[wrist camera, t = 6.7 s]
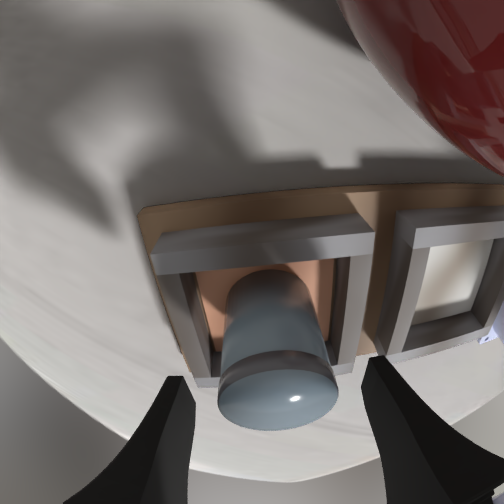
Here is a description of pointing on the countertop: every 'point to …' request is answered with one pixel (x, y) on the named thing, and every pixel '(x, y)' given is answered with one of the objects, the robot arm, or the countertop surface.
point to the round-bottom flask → (441, 65)
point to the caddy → (337, 265)
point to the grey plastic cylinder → (273, 355)
